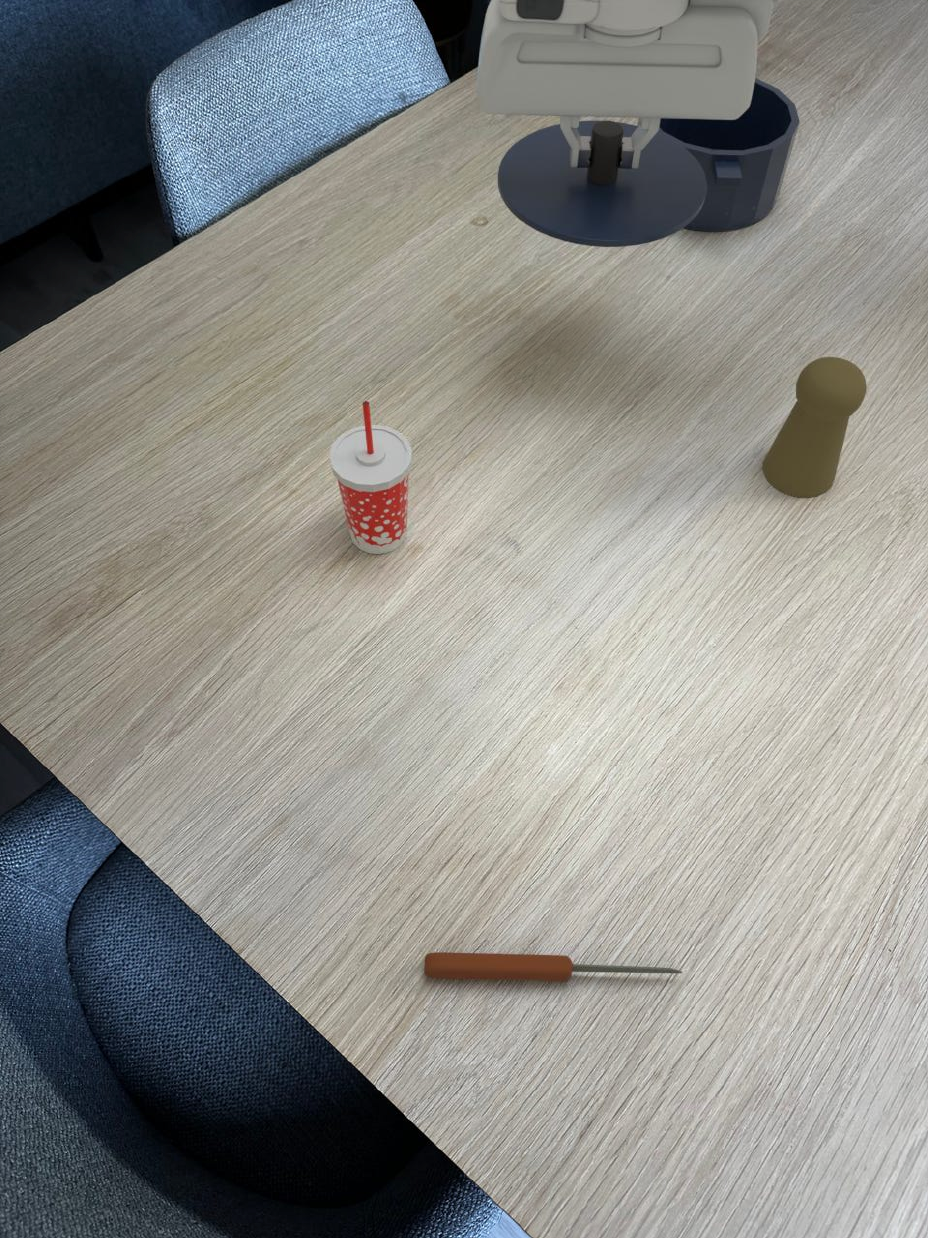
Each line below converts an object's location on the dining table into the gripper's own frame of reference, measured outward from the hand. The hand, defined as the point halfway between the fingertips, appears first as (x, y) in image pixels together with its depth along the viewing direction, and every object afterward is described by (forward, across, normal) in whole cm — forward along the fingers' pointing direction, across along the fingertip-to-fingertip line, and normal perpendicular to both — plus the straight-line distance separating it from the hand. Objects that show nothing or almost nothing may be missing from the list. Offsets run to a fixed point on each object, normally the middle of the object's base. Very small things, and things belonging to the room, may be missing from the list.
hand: (603, 164), depth 82 cm
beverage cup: (+18, +17, +23) cm, 34 cm away
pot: (+18, -14, -26) cm, 35 cm away
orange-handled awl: (+19, +4, +58) cm, 61 cm away
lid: (+2, 0, 0) cm, 2 cm away
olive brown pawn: (+18, -18, +15) cm, 30 cm away
